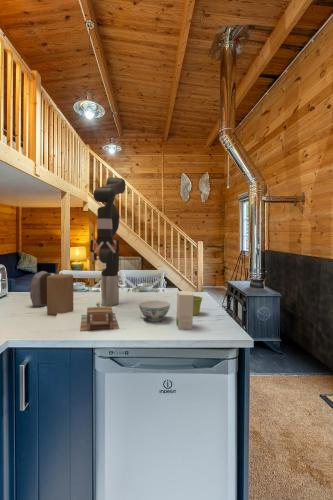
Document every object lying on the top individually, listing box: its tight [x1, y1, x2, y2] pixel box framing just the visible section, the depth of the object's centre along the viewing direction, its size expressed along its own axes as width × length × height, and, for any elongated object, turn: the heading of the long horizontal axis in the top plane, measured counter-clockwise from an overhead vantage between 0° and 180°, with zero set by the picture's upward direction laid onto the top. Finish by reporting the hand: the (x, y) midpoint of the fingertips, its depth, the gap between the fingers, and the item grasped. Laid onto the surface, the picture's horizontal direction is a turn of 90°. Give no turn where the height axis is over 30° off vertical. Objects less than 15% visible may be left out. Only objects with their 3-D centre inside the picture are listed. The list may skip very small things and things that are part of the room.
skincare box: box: [175, 290, 195, 330], centre depth 134 cm, size 8×7×16 cm
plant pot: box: [193, 295, 203, 316], centre depth 157 cm, size 9×9×9 cm
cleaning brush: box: [29, 270, 52, 307], centre depth 174 cm, size 15×8×20 cm, turn 160°
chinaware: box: [138, 300, 171, 322], centre depth 146 cm, size 15×15×8 cm
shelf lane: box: [79, 306, 120, 332], centre depth 137 cm, size 26×16×9 cm, turn 14°
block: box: [46, 273, 74, 316], centre depth 156 cm, size 10×10×20 cm
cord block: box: [92, 301, 106, 321], centre depth 147 cm, size 18×6×5 cm, turn 14°
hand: (104, 260), depth 151 cm, fingers open, 8 cm apart
